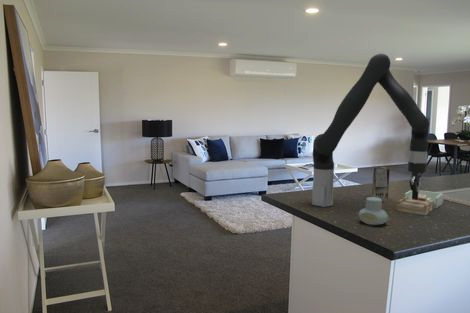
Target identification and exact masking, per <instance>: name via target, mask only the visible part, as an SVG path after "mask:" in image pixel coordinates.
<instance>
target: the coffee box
mask: <svg viewBox="0 0 470 313" xmlns="http://www.w3.org/2000/svg"><path fill="white" fill-rule="evenodd" d="M390 171H391V169H390V168H388V167H387V166H373V167H372V186H371V187H372V188H371V191H372V193H371V197H376V198H380V199H382V202H385V203H386V202H387V203H388V200H389V188H390V187H389V183H390Z"/></svg>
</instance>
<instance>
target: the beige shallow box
mask: <svg viewBox="0 0 470 313" xmlns="http://www.w3.org/2000/svg"><path fill="white" fill-rule="evenodd" d="M395 210H396V211H398V212H404V213H409V214H416V215H422V216H427V215H428V214H429V213H430V212H432V211H434V210H435V209H434V200H431V201H430V202H428V201H421V200H413V199H408V196H406V197H403V198H401V199H399V200H398V201H396V209H395Z"/></svg>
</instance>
